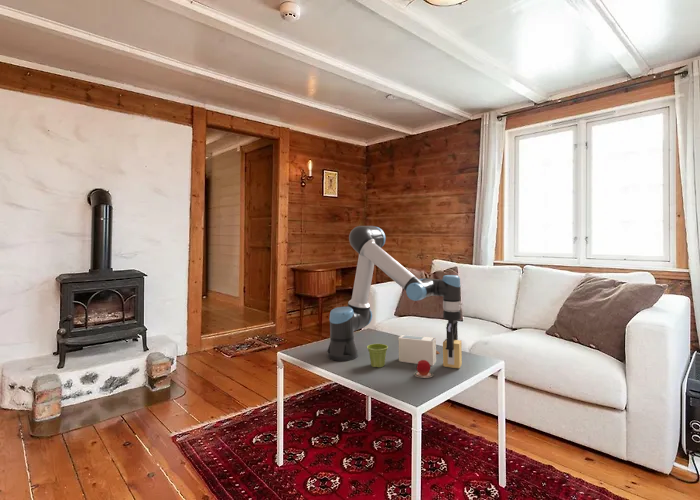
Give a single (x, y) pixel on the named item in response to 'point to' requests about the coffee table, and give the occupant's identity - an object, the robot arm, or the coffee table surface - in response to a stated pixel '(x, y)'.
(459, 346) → the stub
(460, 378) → the coffee table surface
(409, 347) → the white box
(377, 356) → the plant pot
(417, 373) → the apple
